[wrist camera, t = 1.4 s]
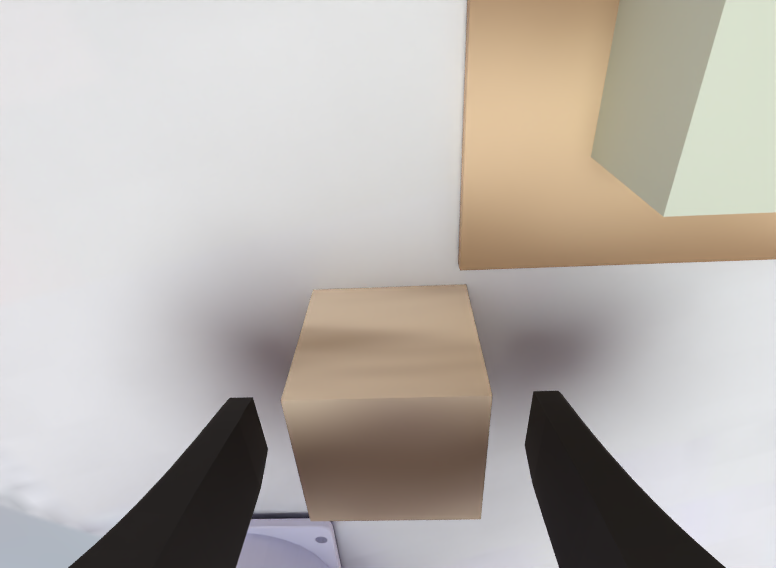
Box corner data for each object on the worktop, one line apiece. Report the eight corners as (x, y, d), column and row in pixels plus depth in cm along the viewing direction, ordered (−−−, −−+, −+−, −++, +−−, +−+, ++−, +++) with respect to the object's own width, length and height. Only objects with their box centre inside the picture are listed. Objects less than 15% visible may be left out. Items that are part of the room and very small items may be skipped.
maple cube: (460, 393, 16) (480, 519, 12) (331, 396, 16) (310, 521, 12) (465, 282, 13) (492, 395, 10) (313, 288, 14) (280, 400, 10)
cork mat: (902, 247, 12) (916, 254, 12) (458, 263, 13) (459, 270, 13) (1395, -558, 6) (1454, -591, 6) (483, -464, 7) (487, -490, 6)
